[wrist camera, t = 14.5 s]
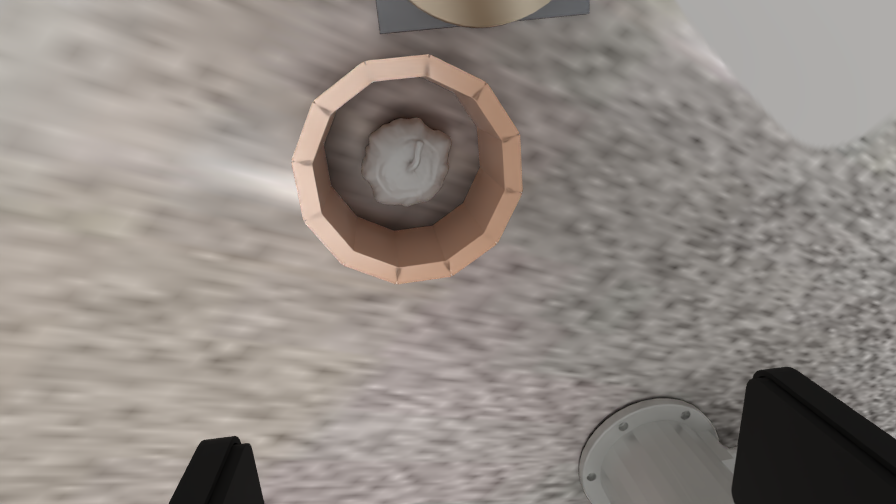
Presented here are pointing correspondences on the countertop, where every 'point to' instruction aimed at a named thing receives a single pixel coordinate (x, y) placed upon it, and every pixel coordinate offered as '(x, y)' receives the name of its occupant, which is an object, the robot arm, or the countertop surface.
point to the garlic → (406, 162)
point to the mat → (407, 17)
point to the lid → (479, 11)
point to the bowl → (420, 247)
